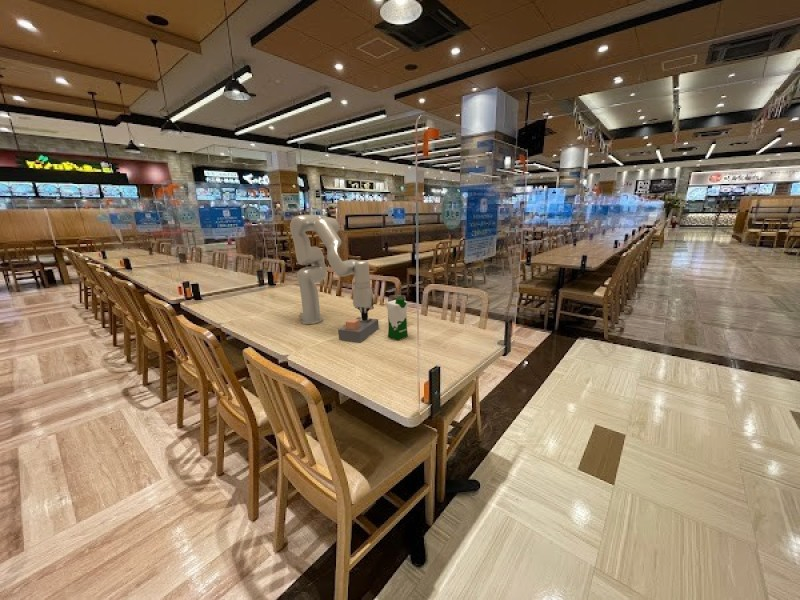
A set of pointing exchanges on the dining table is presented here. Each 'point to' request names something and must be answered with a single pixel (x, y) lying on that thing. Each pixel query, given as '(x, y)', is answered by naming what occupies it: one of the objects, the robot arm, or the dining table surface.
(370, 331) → the button box
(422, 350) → the dining table surface
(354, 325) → the terracotta plunger
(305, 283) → the robot arm
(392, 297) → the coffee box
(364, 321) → the metal plunger
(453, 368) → the dining table surface
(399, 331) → the milk carton
